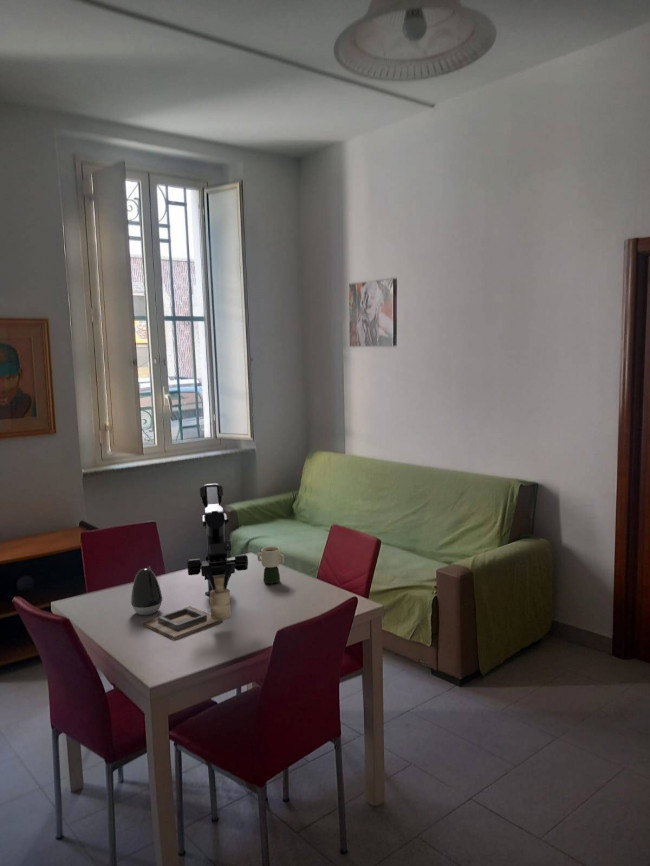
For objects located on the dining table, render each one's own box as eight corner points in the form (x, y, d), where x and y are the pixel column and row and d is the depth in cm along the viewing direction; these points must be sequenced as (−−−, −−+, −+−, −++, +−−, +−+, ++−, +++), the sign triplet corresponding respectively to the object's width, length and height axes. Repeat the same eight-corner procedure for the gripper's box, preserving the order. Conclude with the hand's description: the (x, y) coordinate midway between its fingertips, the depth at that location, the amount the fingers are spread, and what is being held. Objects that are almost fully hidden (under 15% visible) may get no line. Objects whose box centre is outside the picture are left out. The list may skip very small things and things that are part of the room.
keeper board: (143, 625, 212) (142, 617, 212) (190, 608, 225) (189, 601, 225) (174, 639, 200) (173, 631, 199) (222, 621, 212) (221, 614, 212)
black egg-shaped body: (166, 606, 228) (163, 563, 227) (158, 617, 218) (155, 572, 216) (137, 606, 229) (134, 564, 227) (127, 618, 218) (124, 573, 217)
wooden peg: (207, 616, 206) (205, 577, 204) (222, 611, 210) (220, 573, 208) (219, 621, 201) (216, 581, 200) (234, 615, 206) (232, 576, 204)
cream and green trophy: (288, 580, 251) (287, 547, 250) (281, 586, 245) (280, 552, 243) (262, 578, 255) (261, 545, 254) (254, 584, 248) (253, 550, 247)
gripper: (185, 534, 205) (187, 580, 195) (246, 529, 209) (251, 574, 199) (187, 552, 213) (189, 597, 204) (245, 547, 217) (249, 590, 207)
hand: (219, 589), depth 203 cm, fingers closed on wooden peg, 3 cm apart
